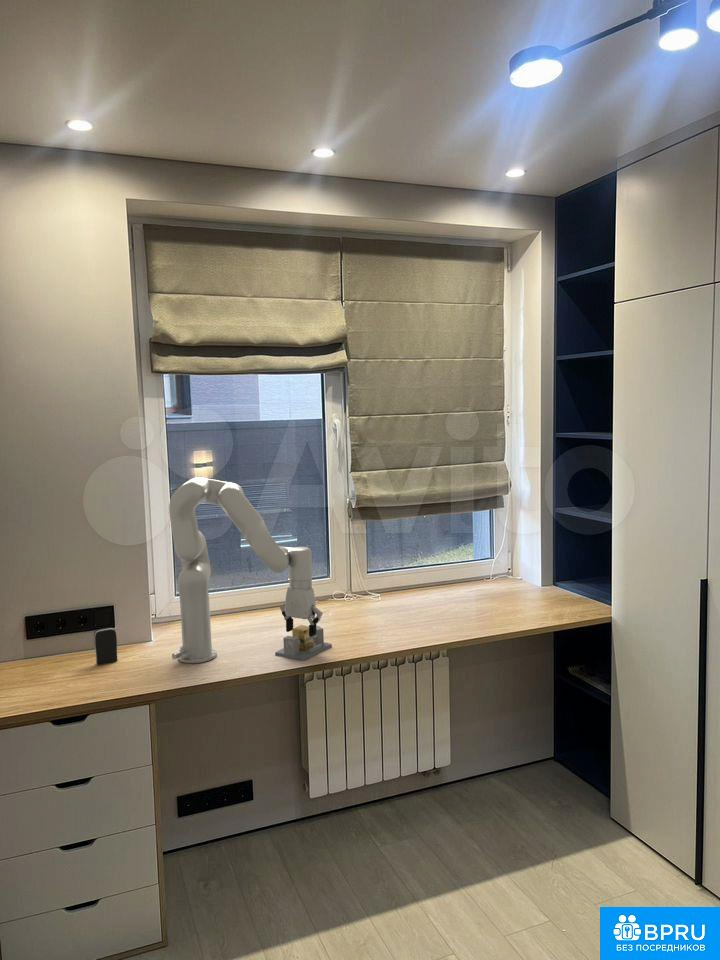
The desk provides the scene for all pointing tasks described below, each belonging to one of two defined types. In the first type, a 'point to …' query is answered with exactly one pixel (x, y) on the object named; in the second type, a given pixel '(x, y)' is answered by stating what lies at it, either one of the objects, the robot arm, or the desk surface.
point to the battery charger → (105, 646)
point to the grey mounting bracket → (293, 651)
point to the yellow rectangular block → (303, 637)
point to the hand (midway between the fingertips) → (301, 633)
